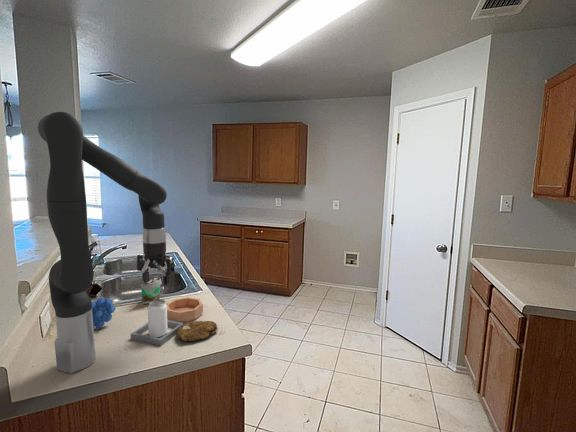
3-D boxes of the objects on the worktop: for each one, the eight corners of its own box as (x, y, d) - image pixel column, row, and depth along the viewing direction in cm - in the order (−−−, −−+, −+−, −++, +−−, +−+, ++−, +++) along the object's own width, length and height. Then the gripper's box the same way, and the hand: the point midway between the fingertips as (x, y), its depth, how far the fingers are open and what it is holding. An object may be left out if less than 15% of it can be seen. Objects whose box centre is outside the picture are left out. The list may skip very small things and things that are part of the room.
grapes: (113, 319, 126) (111, 291, 124) (118, 325, 121) (116, 296, 119) (78, 329, 118) (76, 298, 116) (82, 336, 113) (80, 304, 112)
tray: (161, 345, 109) (160, 340, 108) (130, 339, 112) (130, 333, 112) (184, 328, 121) (183, 323, 121) (155, 322, 125) (155, 317, 124)
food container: (155, 307, 138) (154, 285, 137) (141, 306, 138) (140, 284, 137) (166, 295, 150) (165, 275, 149) (153, 295, 151) (153, 275, 149)
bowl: (189, 325, 123) (188, 314, 122) (159, 319, 127) (158, 308, 126) (208, 310, 136) (208, 300, 136) (180, 305, 140) (180, 295, 140)
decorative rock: (211, 324, 126) (173, 335, 117) (211, 314, 125) (172, 325, 117) (222, 335, 116) (181, 348, 108) (222, 324, 116) (180, 337, 107)
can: (161, 339, 113) (159, 307, 111) (145, 336, 114) (143, 305, 112) (171, 330, 119) (170, 300, 117) (155, 328, 120) (154, 298, 119)
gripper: (130, 240, 110) (132, 284, 112) (164, 244, 106) (166, 290, 108) (145, 236, 117) (147, 278, 119) (178, 239, 113) (179, 282, 115)
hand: (156, 283), depth 114 cm, fingers open, 8 cm apart
